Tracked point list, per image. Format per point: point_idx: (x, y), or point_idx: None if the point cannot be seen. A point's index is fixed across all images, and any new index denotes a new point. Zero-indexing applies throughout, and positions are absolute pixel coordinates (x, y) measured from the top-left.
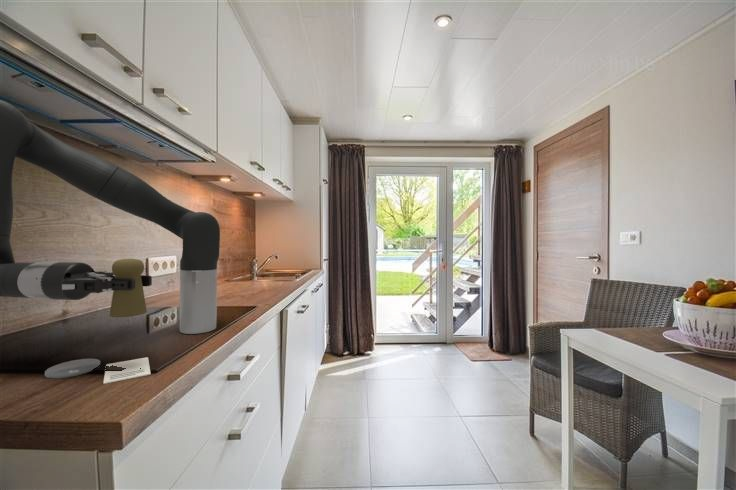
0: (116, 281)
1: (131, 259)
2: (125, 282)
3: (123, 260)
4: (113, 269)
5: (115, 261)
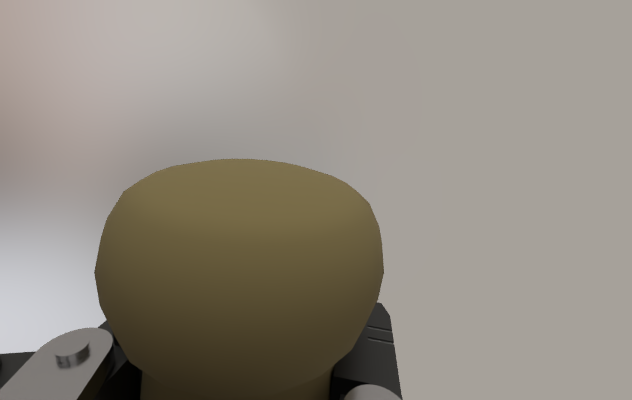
0: (393, 360)
1: (291, 164)
2: (385, 315)
3: (339, 184)
4: (368, 312)
5: (333, 226)
